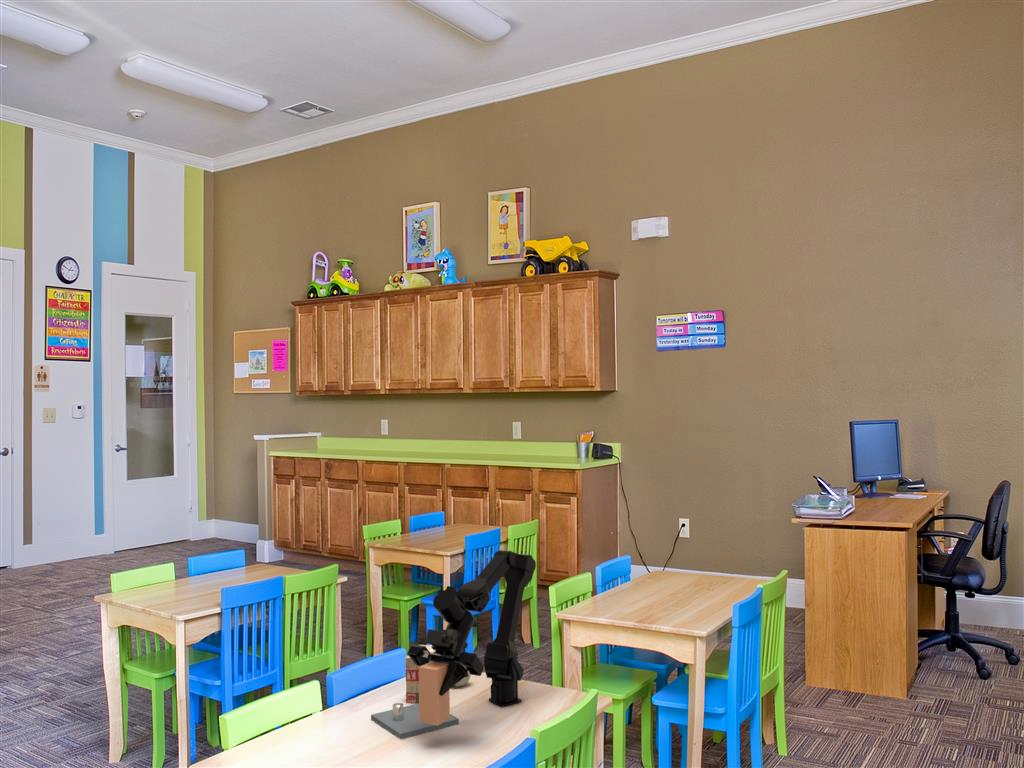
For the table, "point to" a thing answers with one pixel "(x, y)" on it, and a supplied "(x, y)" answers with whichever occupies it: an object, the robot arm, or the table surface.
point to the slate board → (409, 722)
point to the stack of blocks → (413, 679)
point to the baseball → (463, 680)
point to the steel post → (398, 712)
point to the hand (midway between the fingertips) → (430, 693)
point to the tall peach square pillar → (433, 694)
